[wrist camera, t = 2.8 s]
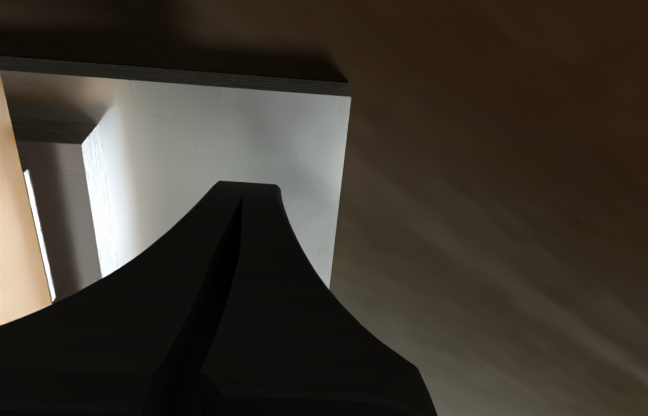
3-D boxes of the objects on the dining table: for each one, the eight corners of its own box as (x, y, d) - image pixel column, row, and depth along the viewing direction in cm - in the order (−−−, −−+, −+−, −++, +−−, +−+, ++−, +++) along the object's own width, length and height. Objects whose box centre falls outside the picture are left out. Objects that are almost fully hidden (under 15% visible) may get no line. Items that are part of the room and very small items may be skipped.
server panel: (303, 489, 24) (302, 555, 22) (-137, 472, 23) (-186, 540, 21) (349, 83, 15) (355, 125, 12) (-393, 25, 14) (-536, 59, 11)
